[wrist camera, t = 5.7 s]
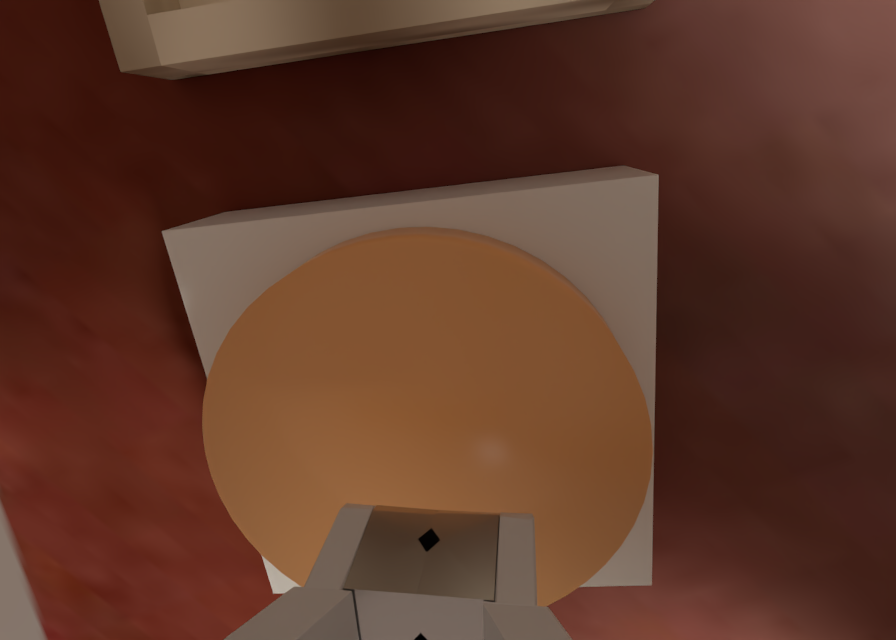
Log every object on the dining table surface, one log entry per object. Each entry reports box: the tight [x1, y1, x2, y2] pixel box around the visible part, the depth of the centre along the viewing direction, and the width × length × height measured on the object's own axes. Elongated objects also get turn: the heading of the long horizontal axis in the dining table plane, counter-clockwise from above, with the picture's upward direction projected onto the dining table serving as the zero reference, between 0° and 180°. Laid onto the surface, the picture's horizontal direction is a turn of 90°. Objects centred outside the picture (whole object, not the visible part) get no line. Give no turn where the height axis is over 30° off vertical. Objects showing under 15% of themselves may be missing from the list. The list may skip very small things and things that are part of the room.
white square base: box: [162, 165, 659, 593], centre depth 14 cm, size 11×11×3 cm
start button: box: [202, 227, 653, 607], centre depth 12 cm, size 10×10×2 cm
